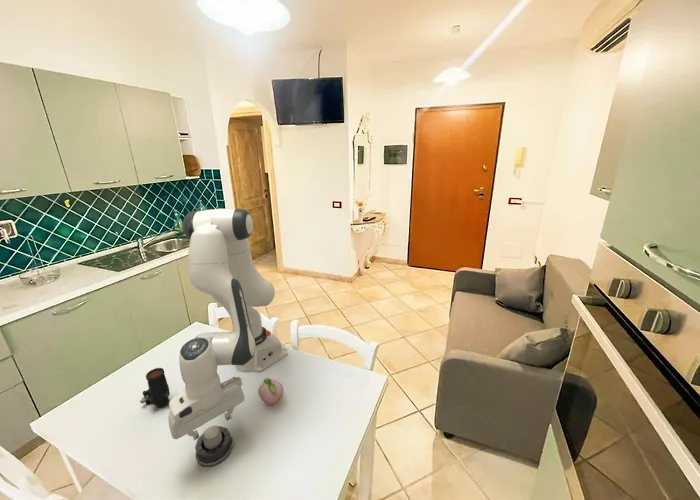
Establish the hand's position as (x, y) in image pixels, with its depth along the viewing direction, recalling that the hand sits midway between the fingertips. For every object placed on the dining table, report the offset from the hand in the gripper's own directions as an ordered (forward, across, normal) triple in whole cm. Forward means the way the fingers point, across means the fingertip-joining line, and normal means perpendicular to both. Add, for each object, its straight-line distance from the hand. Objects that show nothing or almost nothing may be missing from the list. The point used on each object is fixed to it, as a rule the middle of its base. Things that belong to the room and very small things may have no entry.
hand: (212, 427), depth 89 cm
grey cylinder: (+7, +1, 0) cm, 7 cm away
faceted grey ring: (+8, +1, +1) cm, 8 cm away
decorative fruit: (+9, -21, -4) cm, 23 cm away
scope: (+9, +10, -32) cm, 34 cm away
